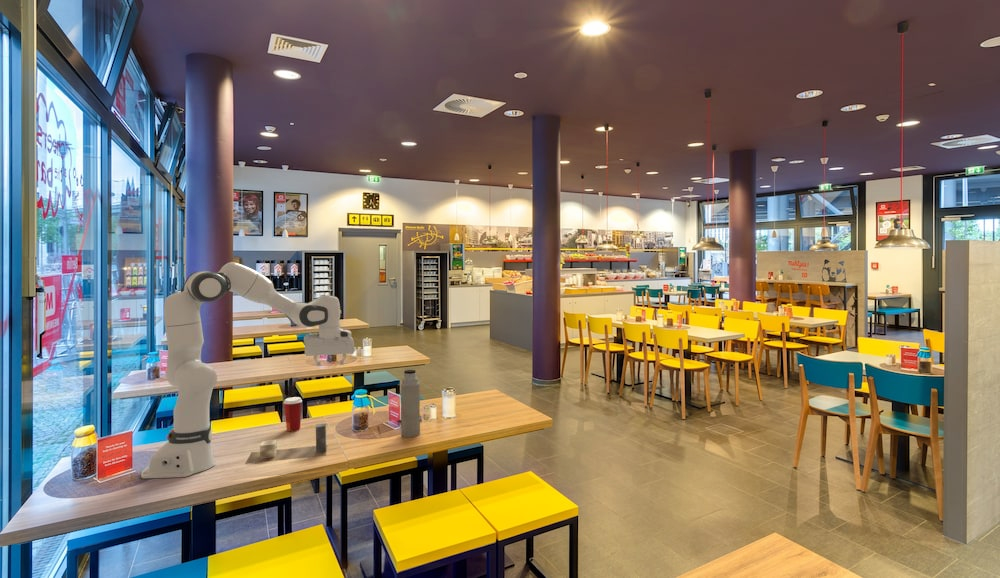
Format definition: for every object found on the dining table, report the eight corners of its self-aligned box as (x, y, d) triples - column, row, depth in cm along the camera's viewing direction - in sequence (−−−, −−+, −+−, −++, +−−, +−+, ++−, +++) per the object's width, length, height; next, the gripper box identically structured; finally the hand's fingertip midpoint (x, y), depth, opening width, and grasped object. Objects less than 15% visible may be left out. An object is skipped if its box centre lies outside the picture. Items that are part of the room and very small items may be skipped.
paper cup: (305, 427, 228) (305, 396, 228) (297, 432, 221) (296, 401, 220) (289, 426, 229) (288, 396, 228) (280, 432, 221) (279, 400, 221)
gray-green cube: (260, 458, 188) (259, 445, 187) (262, 454, 192) (262, 441, 192) (274, 457, 189) (274, 444, 189) (276, 452, 194) (276, 440, 194)
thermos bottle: (417, 430, 223) (417, 368, 222) (421, 435, 215) (421, 371, 214) (399, 432, 220) (399, 369, 219) (403, 438, 212) (402, 372, 211)
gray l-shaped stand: (245, 465, 183) (244, 436, 183) (251, 454, 194) (250, 426, 194) (325, 457, 191) (325, 429, 190) (327, 446, 202) (327, 420, 202)
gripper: (302, 334, 207) (303, 367, 207) (354, 332, 212) (354, 365, 213) (304, 333, 213) (305, 365, 213) (354, 331, 218) (354, 362, 219)
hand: (330, 365), depth 213 cm, fingers open, 8 cm apart
